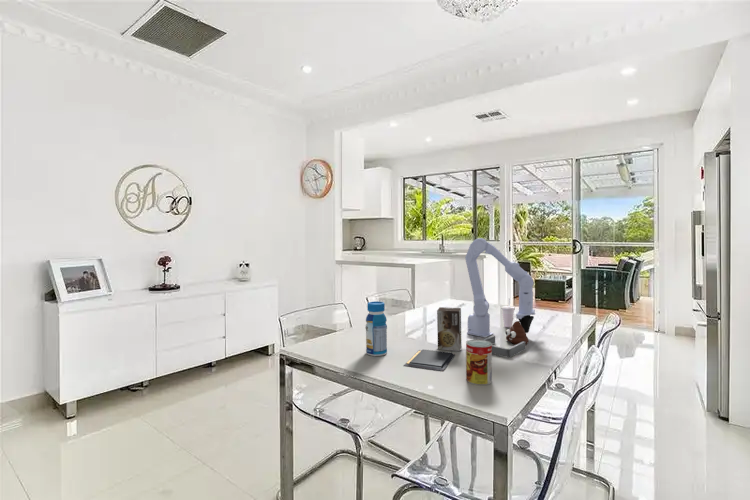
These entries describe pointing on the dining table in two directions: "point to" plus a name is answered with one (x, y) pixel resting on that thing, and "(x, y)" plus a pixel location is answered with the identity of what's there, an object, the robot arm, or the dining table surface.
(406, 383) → the dining table surface
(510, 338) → the poop emoji
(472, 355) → the canned food
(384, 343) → the beverage bottle
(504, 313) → the smoothie
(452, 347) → the coffee box
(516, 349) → the box
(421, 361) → the dark gray flat slab
